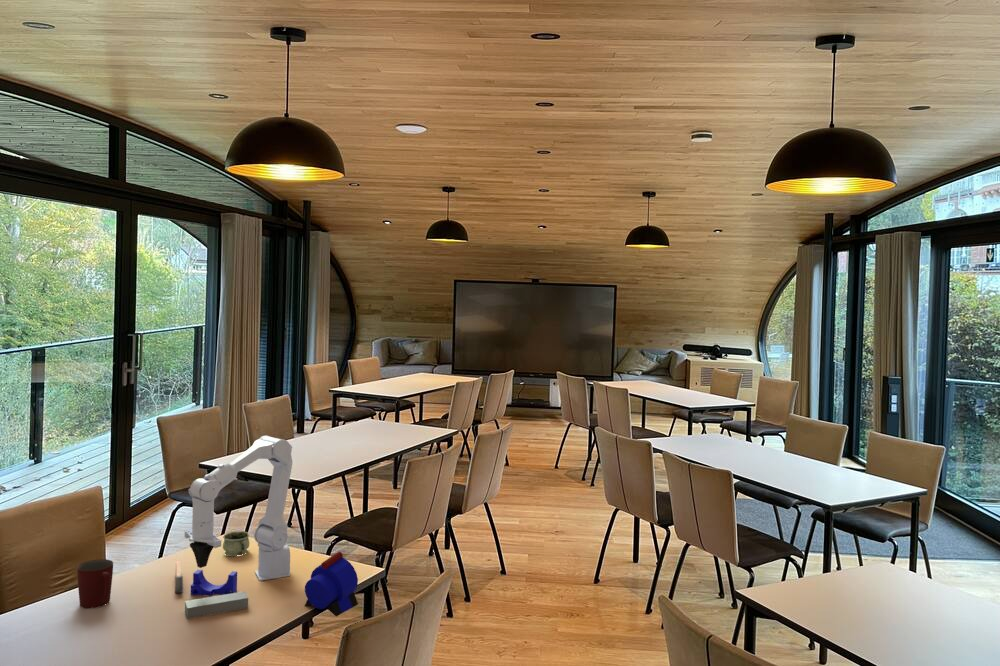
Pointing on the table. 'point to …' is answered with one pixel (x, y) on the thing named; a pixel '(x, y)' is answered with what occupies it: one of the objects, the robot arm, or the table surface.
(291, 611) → the table surface
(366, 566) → the table surface
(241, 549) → the vessel
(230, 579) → the blue pipe saddle
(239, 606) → the grey rectangular block
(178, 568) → the bar
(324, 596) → the blue electric motor
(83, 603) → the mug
